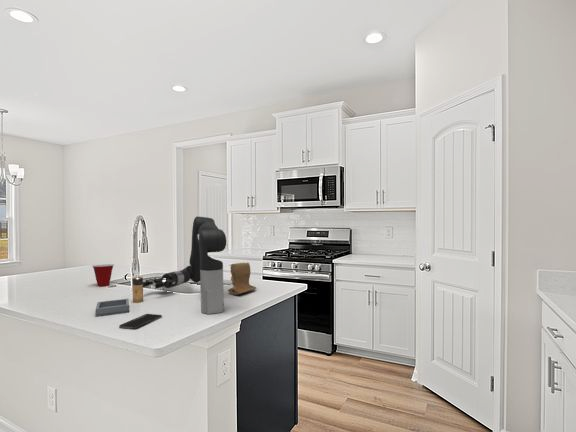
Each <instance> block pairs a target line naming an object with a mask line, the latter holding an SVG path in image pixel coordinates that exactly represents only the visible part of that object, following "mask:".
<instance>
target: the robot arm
mask: <svg viewBox="0 0 576 432" xmlns="http://www.w3.org/2000/svg"><path fill="white" fill-rule="evenodd" d="M226 247H227V236H226V233H225V231H224V230H223V229H220V228H219V227H218V226H217V225H216V223H215V220H214V218H211V217H207V216H195V217H194V219H193V222H192V230H191V251H190V256H189V262H188V263H189V265H187V266H186V267H185V268H183V269H181V270H177V271H176V270H175V271H172V272H167V273H164V274H163V275H162V276H161V277H158V278H156V277H154V278H149V279H145V281H143V288H145V287H150V286H152V287H155V289H160V288H166V289H170V288H174V287H176V286H180V285H182V284H183V285H184V284H187V283H188V282H189V281H190V280H191V281H192V282H194V283H200V284H199V285H200V286H199V287H200V312H201V313H202V314H207V315H210V314H212V315H213V314H218V313H223V312H224V310H225V309H224V308H225V306H224V305H225V304H224V303H225V298H224V262H223V261H222V260H219V259H216V258H212V257H211V256H210V255H208V254H210V253H221V252H223V251H224V250H225V249H226Z"/></svg>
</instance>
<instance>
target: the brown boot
mask: <svg viewBox="0 0 576 432" xmlns="http://www.w3.org/2000/svg"><path fill="white" fill-rule="evenodd" d="M230 275H231V276H232V277H233V281H234V284H233V286H232V287H230V288H228V289H227V292H228V293H229V294H230V295H233V296H237V295H241V294H245V293H248V292H250V291H253V290H256V289H257V287H256V286H254V285H251V284H250V277H251V265H250V263H249V262H236V263H231V265H230Z"/></svg>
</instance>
